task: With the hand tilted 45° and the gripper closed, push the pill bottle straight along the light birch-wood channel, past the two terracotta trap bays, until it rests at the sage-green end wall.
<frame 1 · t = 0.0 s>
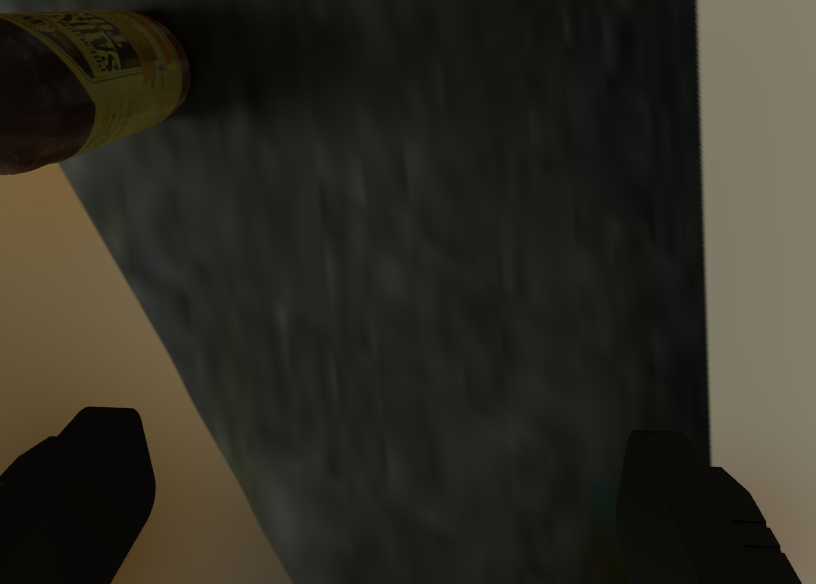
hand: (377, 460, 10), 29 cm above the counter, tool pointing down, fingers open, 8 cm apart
sauce bottle: (141, 65, 37), on the counter
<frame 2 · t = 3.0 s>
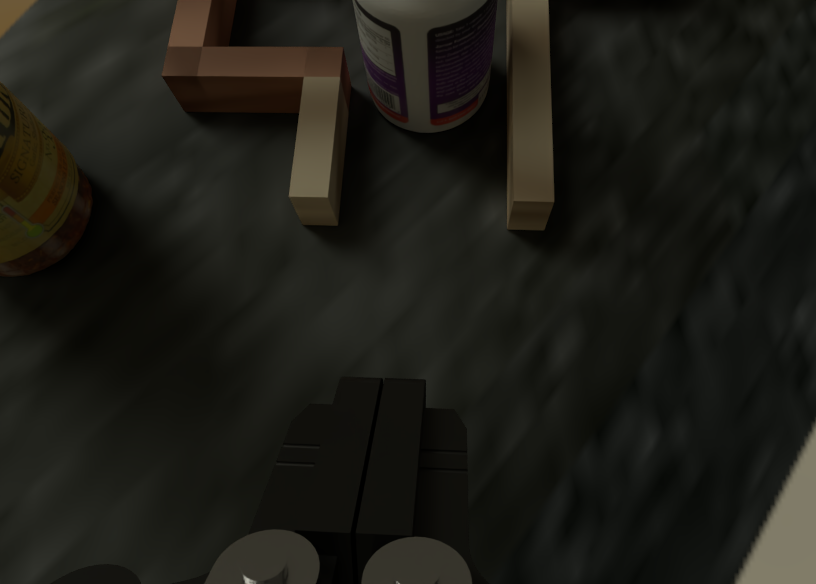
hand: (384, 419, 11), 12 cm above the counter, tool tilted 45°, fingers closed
sauce bottle: (33, 215, 28), on the counter
pill bottle: (428, 88, 29), resting in trap channel
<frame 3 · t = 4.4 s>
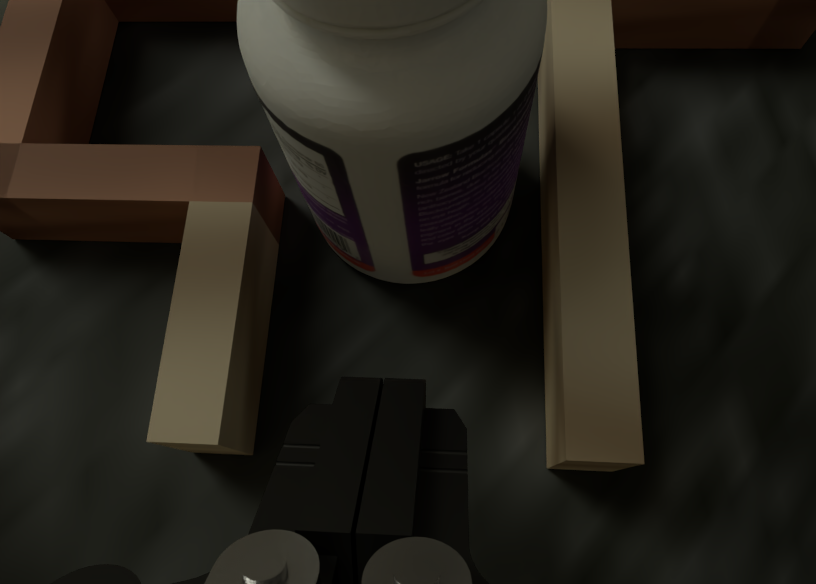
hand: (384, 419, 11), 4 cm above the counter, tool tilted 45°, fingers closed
trap channel: (420, 21, 19), on the counter
pill bottle: (411, 199, 18), resting in trap channel
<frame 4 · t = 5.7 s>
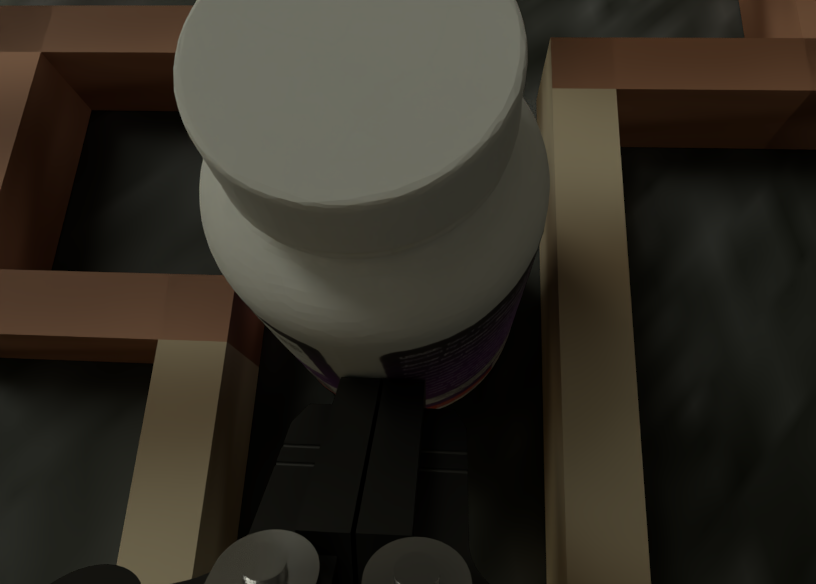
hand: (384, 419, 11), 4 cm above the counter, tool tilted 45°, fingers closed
trap channel: (412, 113, 18), on the counter
pill bottle: (402, 314, 16), resting in trap channel, touching gripper
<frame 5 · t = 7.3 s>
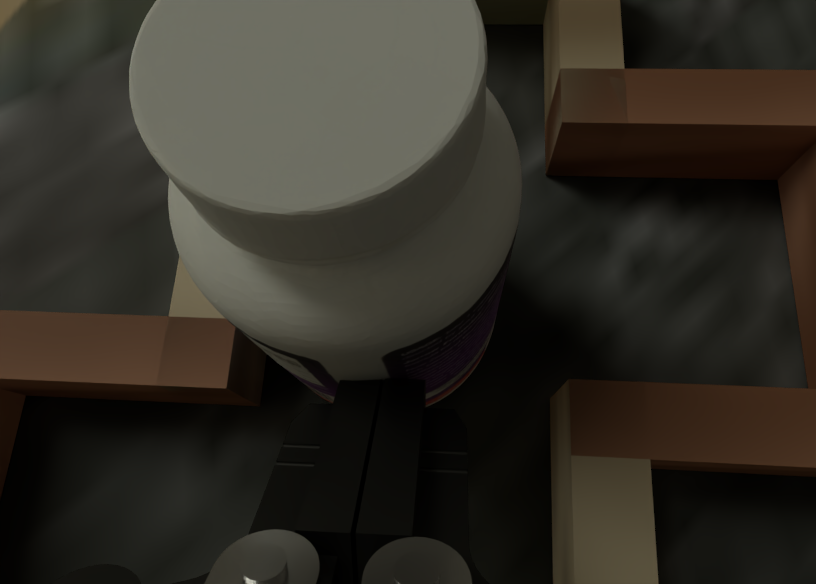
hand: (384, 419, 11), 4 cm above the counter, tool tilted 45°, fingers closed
trap channel: (402, 412, 15), on the counter
pill bottle: (386, 313, 16), resting in trap channel, touching gripper
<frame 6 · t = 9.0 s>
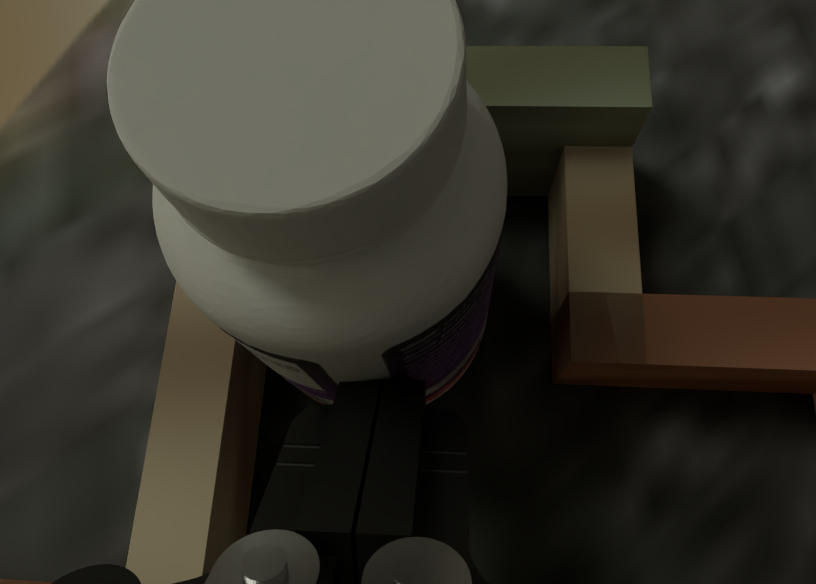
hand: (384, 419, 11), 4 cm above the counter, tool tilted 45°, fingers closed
pill bottle: (378, 315, 16), resting in trap channel, touching gripper
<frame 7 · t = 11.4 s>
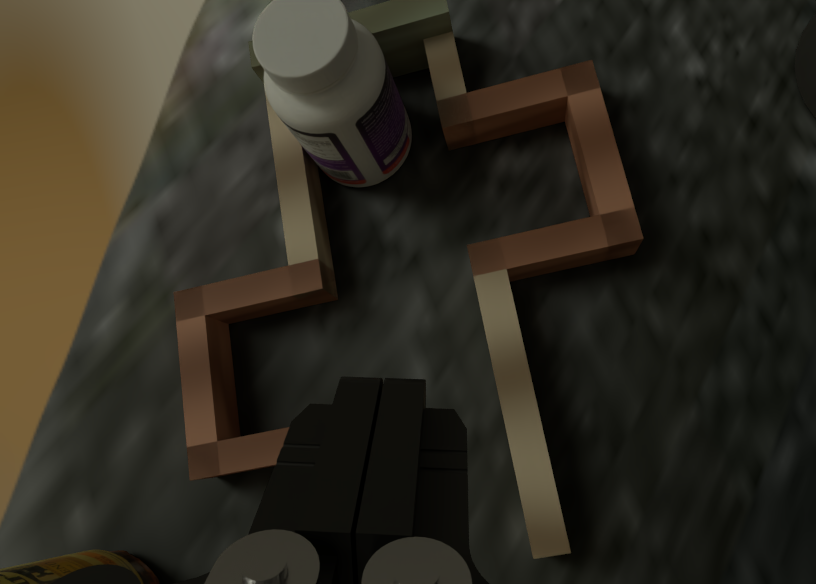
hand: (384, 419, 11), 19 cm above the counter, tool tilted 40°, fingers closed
trap channel: (405, 284, 31), on the counter
pill bottle: (364, 144, 34), resting in trap channel
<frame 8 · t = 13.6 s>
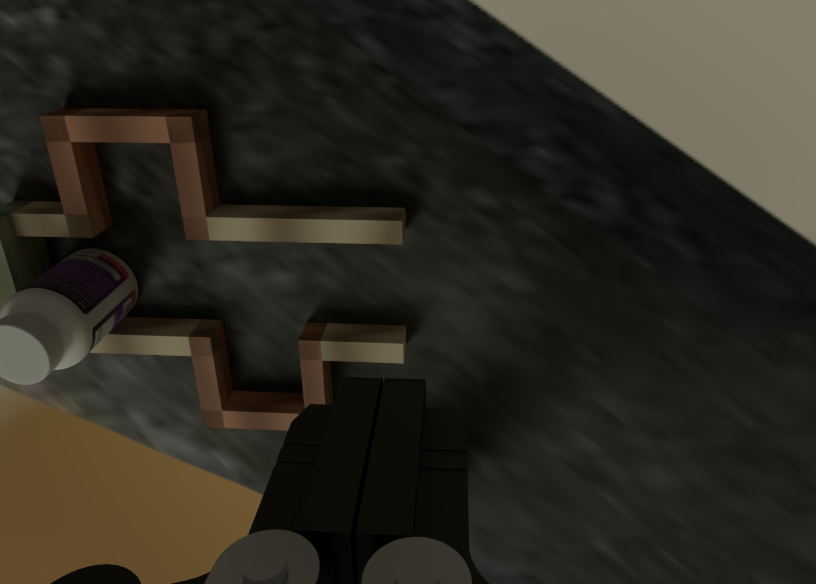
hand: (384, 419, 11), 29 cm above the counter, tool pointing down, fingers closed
trap channel: (215, 274, 43), on the counter
pill bottle: (104, 281, 44), resting in trap channel
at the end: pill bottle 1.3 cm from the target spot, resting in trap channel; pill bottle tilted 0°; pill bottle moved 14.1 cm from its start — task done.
